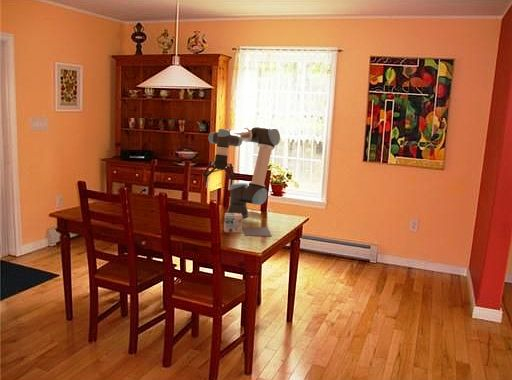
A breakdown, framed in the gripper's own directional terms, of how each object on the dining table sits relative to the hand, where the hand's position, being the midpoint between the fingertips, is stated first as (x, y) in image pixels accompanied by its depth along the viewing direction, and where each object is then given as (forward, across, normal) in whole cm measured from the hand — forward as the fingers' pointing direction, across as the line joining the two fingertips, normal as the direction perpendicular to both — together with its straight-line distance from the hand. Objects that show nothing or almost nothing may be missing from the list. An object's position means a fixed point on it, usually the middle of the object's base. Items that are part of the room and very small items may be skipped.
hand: (217, 189), depth 293 cm
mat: (+24, +27, -3) cm, 36 cm away
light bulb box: (+25, +12, -3) cm, 28 cm away
